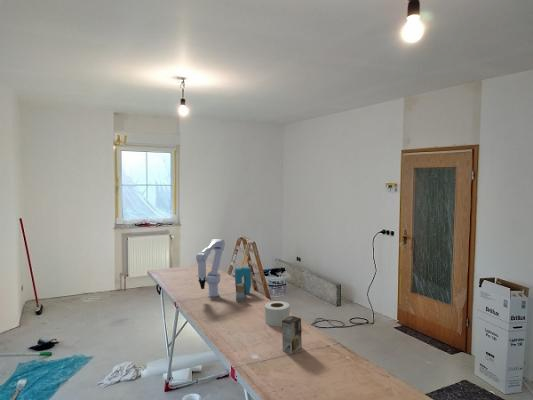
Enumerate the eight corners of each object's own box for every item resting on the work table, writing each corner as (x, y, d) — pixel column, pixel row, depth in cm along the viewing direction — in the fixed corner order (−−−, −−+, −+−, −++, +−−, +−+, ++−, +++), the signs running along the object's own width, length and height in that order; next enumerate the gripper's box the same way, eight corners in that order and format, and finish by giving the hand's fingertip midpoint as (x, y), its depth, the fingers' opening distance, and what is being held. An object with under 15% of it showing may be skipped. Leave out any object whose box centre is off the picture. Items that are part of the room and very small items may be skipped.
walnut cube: (235, 291, 287) (235, 284, 287) (241, 290, 290) (241, 283, 289) (238, 292, 283) (238, 286, 283) (244, 291, 285) (244, 285, 285)
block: (249, 291, 309) (248, 266, 308) (251, 293, 304) (251, 268, 303) (235, 293, 304) (234, 268, 303) (237, 295, 300) (236, 269, 298)
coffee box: (292, 344, 209) (291, 315, 208) (302, 347, 205) (301, 317, 204) (282, 350, 202) (281, 320, 201) (292, 354, 198) (291, 323, 197)
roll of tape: (287, 327, 234) (287, 309, 233) (262, 325, 237) (262, 308, 236) (291, 317, 249) (291, 301, 248) (267, 316, 252) (267, 300, 252)
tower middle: (236, 295, 289) (236, 290, 289) (244, 294, 290) (244, 290, 290) (236, 297, 283) (236, 292, 283) (244, 297, 284) (244, 292, 284)
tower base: (235, 299, 289) (235, 295, 289) (243, 299, 290) (243, 294, 290) (236, 302, 283) (236, 297, 283) (244, 301, 284) (244, 296, 284)
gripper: (196, 267, 292) (197, 285, 292) (196, 272, 277) (197, 290, 278) (206, 267, 293) (206, 284, 294) (206, 271, 279) (206, 289, 279)
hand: (202, 287), depth 286 cm, fingers open, 7 cm apart
